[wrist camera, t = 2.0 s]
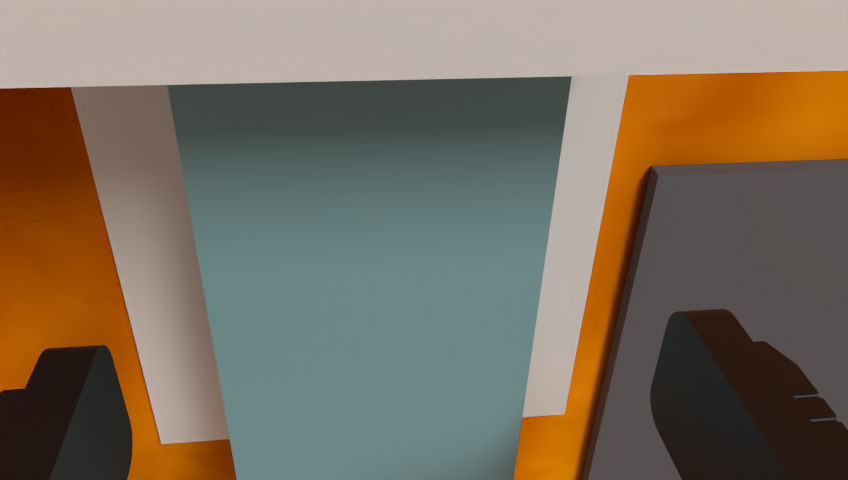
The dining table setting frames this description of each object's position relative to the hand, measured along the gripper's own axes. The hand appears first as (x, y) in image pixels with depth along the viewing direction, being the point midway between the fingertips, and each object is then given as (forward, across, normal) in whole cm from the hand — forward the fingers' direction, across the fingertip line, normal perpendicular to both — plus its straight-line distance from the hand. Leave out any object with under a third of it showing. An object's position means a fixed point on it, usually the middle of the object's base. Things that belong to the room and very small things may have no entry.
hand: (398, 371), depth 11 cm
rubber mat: (+5, -10, +6) cm, 12 cm away
